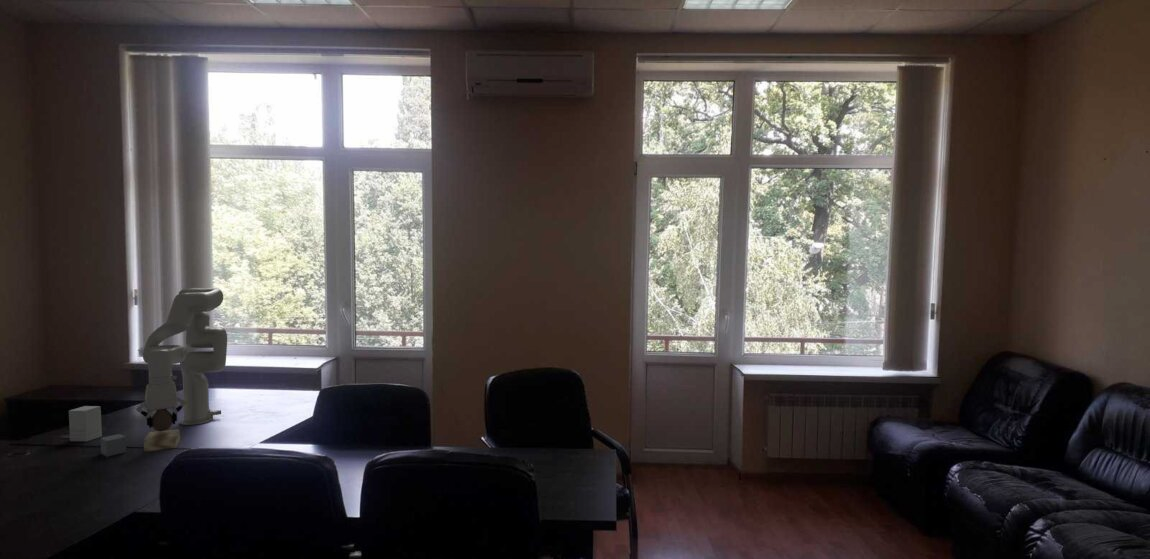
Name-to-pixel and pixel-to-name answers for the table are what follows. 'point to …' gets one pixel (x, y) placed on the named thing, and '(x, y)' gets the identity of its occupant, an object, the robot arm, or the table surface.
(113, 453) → the slate block
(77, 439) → the supplement box
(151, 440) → the birch block
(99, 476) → the table surface
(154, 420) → the vase
